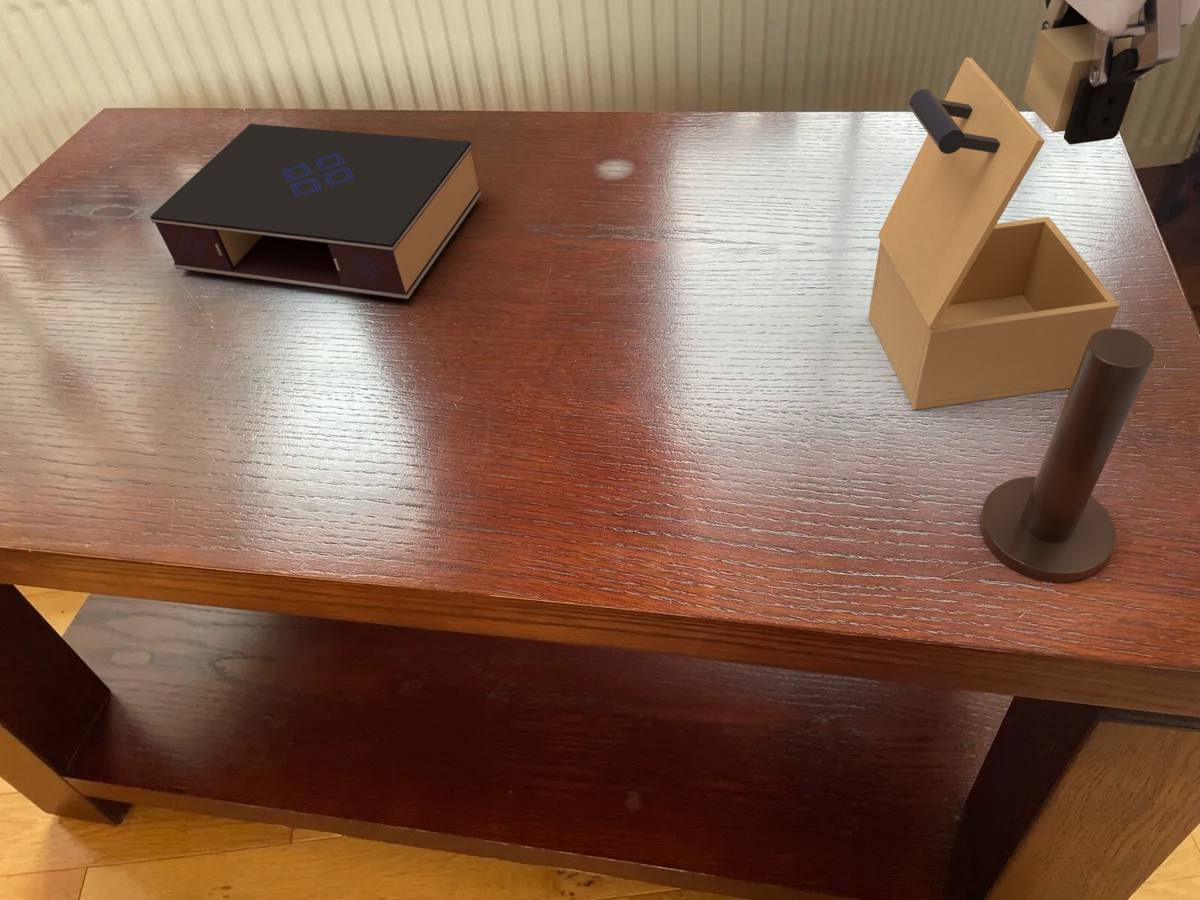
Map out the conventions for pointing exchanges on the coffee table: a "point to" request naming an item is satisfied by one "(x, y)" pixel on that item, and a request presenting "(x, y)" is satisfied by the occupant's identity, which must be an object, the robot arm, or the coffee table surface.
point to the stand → (1071, 471)
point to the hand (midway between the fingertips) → (1070, 116)
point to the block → (1063, 71)
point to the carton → (995, 320)
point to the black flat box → (322, 209)
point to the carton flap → (956, 186)
